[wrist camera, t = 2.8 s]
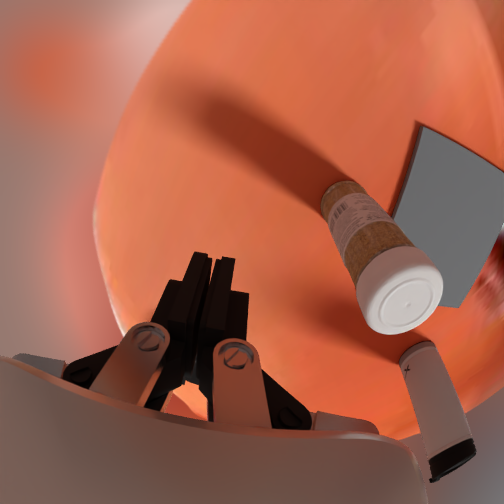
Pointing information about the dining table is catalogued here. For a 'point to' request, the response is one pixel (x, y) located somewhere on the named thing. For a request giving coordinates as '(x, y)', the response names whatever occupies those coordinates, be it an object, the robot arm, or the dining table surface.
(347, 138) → the dining table surface
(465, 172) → the rubber mat
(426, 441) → the travel mug
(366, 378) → the dining table surface
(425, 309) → the sprinkles bottle
